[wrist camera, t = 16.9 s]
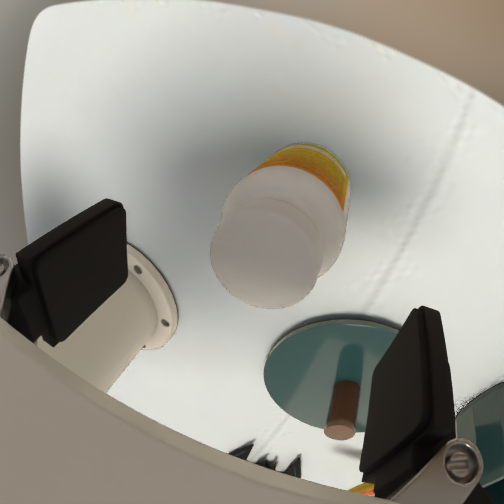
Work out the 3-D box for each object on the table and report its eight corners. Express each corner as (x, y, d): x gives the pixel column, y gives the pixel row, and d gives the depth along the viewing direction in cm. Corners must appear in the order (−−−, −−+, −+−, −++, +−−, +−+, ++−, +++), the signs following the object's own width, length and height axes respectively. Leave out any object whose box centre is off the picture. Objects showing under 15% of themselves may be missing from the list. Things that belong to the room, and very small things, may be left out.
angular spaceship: (223, 467, 44) (216, 481, 41) (236, 431, 36) (227, 450, 34) (288, 488, 42) (283, 503, 39) (319, 458, 34) (314, 477, 32)
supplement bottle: (257, 146, 19) (174, 197, 11) (346, 137, 17) (331, 182, 9) (271, 227, 22) (210, 320, 13) (354, 224, 20) (341, 327, 11)
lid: (253, 396, 31) (234, 441, 26) (291, 288, 23) (269, 341, 19) (382, 434, 28) (377, 480, 24) (463, 344, 21) (474, 400, 16)
